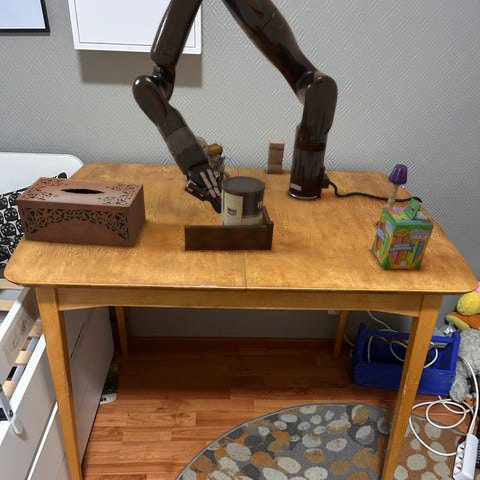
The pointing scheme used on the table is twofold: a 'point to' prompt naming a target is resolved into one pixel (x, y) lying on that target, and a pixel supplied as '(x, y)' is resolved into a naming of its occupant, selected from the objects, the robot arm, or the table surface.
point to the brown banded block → (275, 156)
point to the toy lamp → (396, 183)
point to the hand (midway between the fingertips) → (222, 211)
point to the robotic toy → (214, 156)
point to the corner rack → (230, 236)
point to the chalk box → (402, 237)
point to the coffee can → (242, 201)
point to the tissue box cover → (82, 211)
